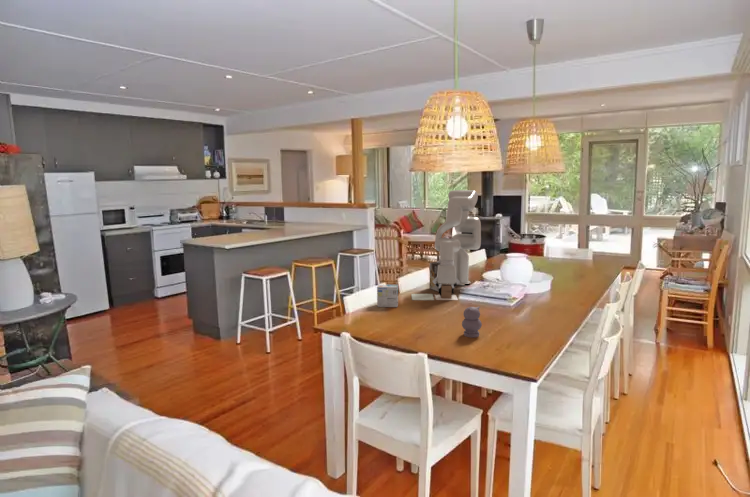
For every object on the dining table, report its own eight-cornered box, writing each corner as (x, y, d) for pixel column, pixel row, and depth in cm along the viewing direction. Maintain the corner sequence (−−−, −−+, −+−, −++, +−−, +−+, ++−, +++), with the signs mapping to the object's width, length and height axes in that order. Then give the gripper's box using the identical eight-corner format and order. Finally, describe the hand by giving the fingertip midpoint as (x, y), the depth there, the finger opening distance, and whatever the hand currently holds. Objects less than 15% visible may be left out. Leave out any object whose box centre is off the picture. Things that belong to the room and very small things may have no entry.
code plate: (434, 294, 262) (434, 294, 262) (455, 295, 262) (455, 294, 262) (436, 300, 250) (436, 299, 250) (458, 300, 250) (458, 299, 250)
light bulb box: (398, 304, 243) (398, 284, 241) (397, 307, 236) (397, 287, 235) (378, 303, 244) (378, 283, 242) (376, 307, 237) (376, 286, 236)
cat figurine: (470, 330, 198) (470, 303, 197) (485, 334, 193) (486, 307, 191) (457, 334, 193) (458, 307, 191) (472, 339, 187) (473, 310, 185)
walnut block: (440, 295, 259) (440, 283, 258) (450, 296, 259) (450, 283, 258) (441, 298, 254) (441, 285, 253) (451, 298, 253) (451, 285, 252)
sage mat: (411, 294, 264) (411, 293, 264) (432, 294, 263) (432, 293, 263) (412, 300, 250) (412, 299, 250) (434, 300, 250) (434, 299, 250)
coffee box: (446, 290, 273) (446, 263, 271) (437, 291, 271) (437, 264, 268) (437, 287, 282) (438, 261, 279) (428, 288, 279) (429, 262, 277)
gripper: (431, 263, 250) (430, 296, 253) (463, 264, 249) (462, 296, 252) (430, 261, 258) (430, 293, 260) (461, 261, 257) (460, 293, 259)
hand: (446, 294), depth 256 cm, fingers closed on walnut block, 5 cm apart
